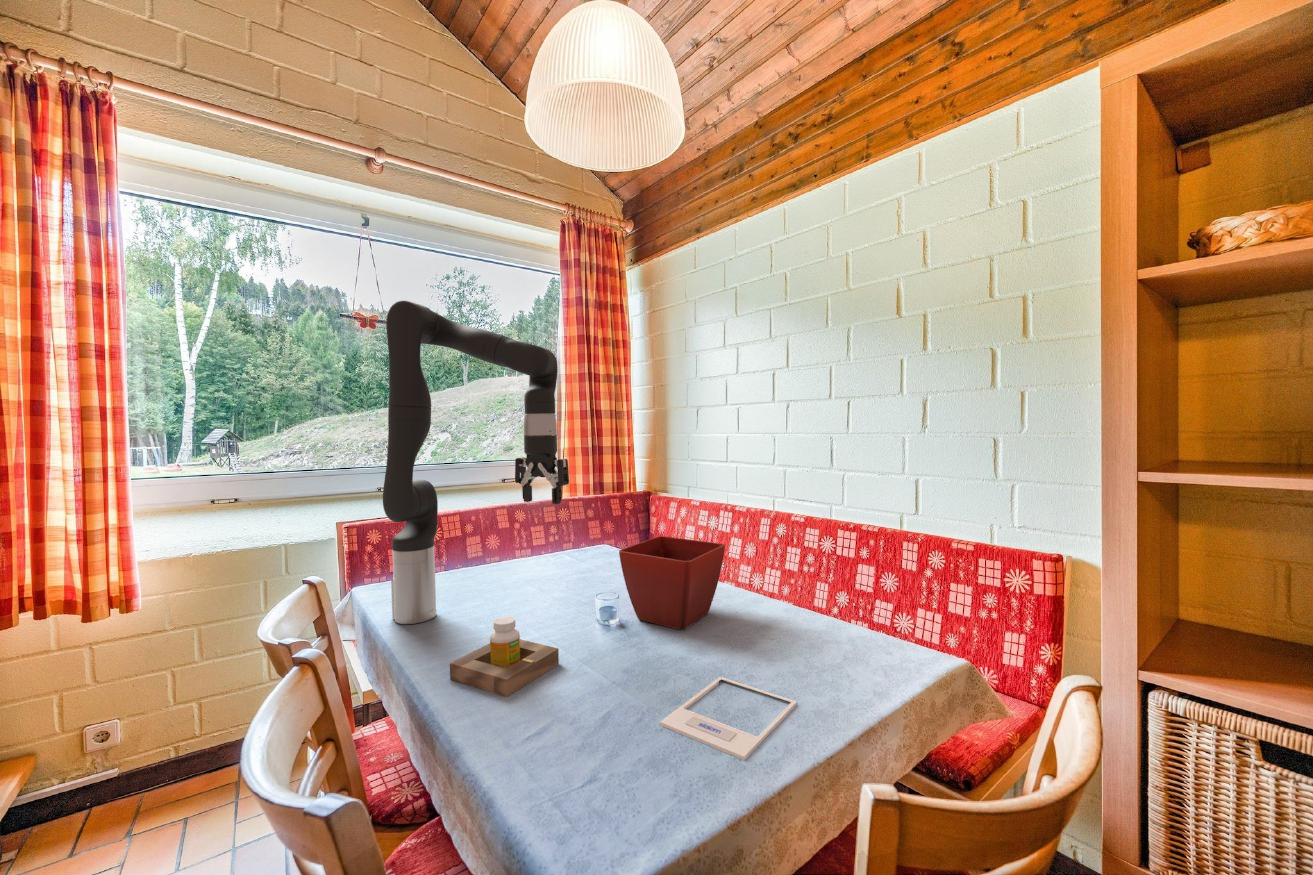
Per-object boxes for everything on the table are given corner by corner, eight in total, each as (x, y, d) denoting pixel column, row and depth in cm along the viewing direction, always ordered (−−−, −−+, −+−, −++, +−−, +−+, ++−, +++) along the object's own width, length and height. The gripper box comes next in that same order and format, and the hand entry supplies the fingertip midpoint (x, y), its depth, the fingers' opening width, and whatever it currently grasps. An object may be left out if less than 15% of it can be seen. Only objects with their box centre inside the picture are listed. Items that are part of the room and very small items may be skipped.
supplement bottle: (512, 678, 99) (511, 626, 99) (485, 676, 100) (484, 624, 100) (525, 665, 105) (523, 615, 104) (499, 663, 106) (498, 614, 105)
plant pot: (727, 611, 132) (727, 543, 131) (689, 639, 116) (688, 561, 115) (661, 598, 142) (660, 535, 141) (617, 622, 126) (616, 550, 125)
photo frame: (659, 720, 84) (720, 675, 98) (659, 727, 84) (720, 681, 98) (744, 755, 75) (796, 700, 89) (744, 763, 75) (796, 706, 89)
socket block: (450, 679, 100) (449, 661, 99) (505, 649, 112) (504, 634, 112) (506, 696, 93) (506, 678, 93) (558, 663, 105) (558, 647, 105)
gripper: (505, 434, 126) (507, 503, 126) (554, 433, 119) (555, 507, 120) (528, 433, 132) (529, 498, 133) (575, 432, 126) (576, 502, 126)
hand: (542, 502), depth 126 cm, fingers open, 8 cm apart
